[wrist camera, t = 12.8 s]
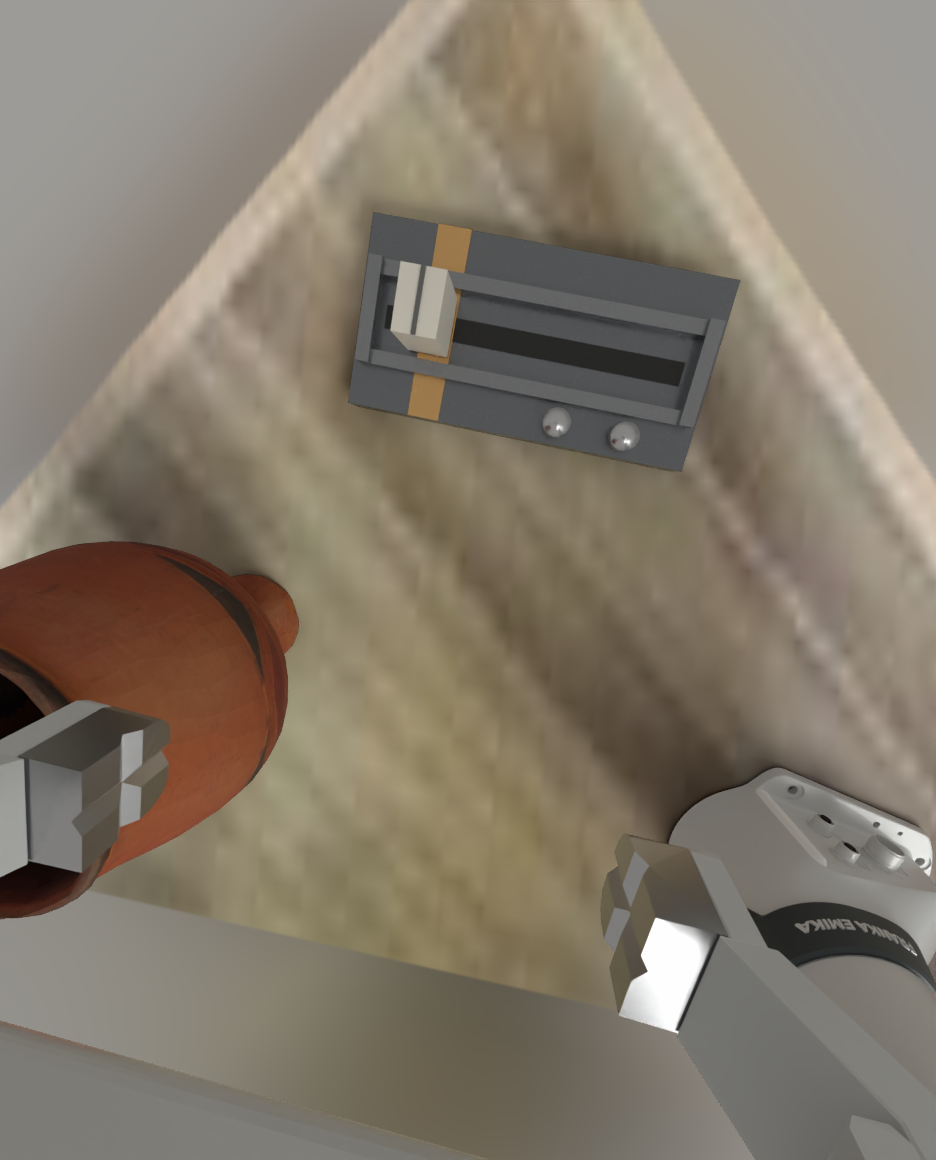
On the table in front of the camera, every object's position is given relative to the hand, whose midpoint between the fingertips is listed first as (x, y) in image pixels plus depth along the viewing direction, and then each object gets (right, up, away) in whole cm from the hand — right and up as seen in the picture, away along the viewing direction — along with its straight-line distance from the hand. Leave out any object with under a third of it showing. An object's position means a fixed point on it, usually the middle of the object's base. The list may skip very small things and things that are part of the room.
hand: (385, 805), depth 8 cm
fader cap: (-1, +23, +26) cm, 35 cm away
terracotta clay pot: (-18, 0, +36) cm, 41 cm away
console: (+6, +22, +28) cm, 36 cm away
